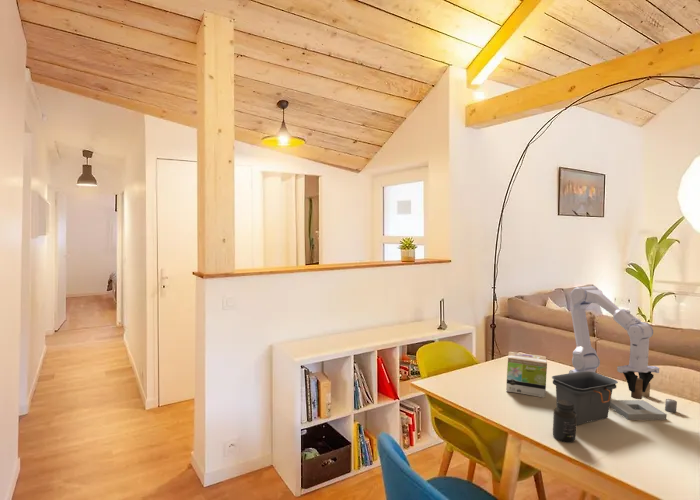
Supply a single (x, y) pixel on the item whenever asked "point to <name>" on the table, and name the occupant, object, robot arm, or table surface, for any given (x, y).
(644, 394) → the medium dowel
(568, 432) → the supplement bottle
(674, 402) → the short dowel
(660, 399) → the table surface
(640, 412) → the hole board
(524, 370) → the tea box
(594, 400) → the storage bin
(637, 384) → the long dowel
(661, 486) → the table surface
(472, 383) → the table surface
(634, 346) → the robot arm
